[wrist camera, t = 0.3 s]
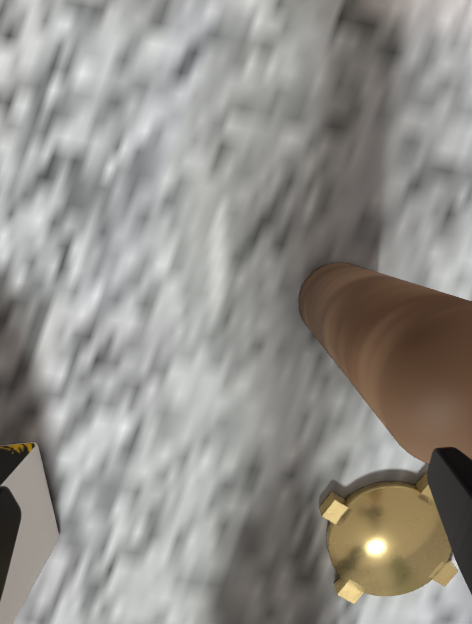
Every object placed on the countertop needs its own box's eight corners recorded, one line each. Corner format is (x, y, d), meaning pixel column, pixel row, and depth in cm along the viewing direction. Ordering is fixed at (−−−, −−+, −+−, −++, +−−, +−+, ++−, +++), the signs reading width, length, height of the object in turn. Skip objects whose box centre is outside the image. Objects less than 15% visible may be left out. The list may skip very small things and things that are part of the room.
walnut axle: (345, 352, 24) (478, 496, 11) (283, 312, 23) (347, 416, 11) (391, 289, 23) (589, 367, 10) (328, 247, 23) (455, 273, 10)
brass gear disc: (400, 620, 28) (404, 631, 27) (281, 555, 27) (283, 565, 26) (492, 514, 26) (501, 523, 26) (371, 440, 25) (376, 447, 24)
